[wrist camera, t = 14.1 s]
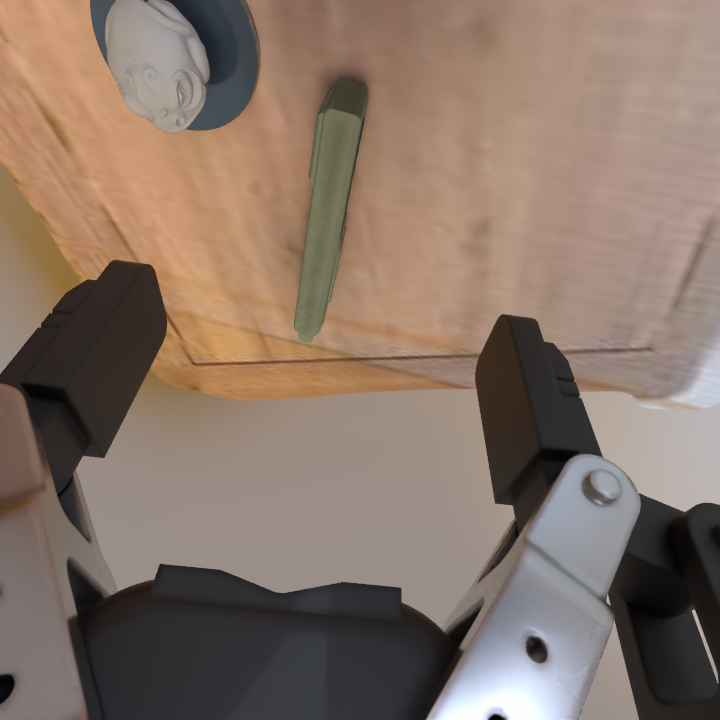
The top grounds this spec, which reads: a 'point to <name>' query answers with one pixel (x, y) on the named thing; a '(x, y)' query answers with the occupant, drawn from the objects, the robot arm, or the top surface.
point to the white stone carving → (157, 62)
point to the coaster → (212, 53)
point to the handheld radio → (329, 200)
